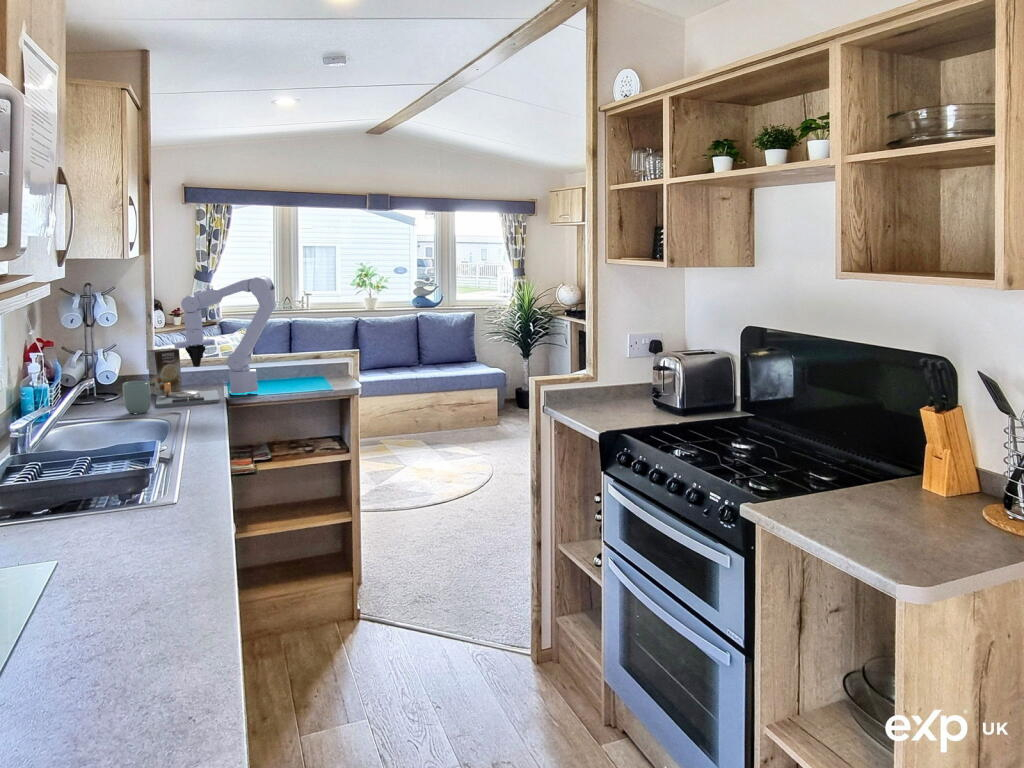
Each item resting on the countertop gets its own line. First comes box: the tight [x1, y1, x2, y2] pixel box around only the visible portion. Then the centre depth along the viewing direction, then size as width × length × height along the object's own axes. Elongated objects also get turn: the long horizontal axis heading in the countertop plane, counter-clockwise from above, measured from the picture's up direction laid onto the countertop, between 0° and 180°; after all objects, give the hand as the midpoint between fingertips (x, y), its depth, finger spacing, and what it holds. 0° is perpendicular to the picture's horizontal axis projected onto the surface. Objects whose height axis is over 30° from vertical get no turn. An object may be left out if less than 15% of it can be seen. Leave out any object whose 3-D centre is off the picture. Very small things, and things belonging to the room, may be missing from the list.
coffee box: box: [146, 347, 183, 396], centre depth 271 cm, size 9×6×16 cm
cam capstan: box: [164, 383, 200, 398], centre depth 259 cm, size 12×8×4 cm, turn 87°
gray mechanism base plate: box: [155, 389, 221, 409], centre depth 259 cm, size 20×18×3 cm
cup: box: [121, 380, 152, 414], centre depth 239 cm, size 8×8×10 cm
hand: (196, 366), depth 267 cm, fingers closed
